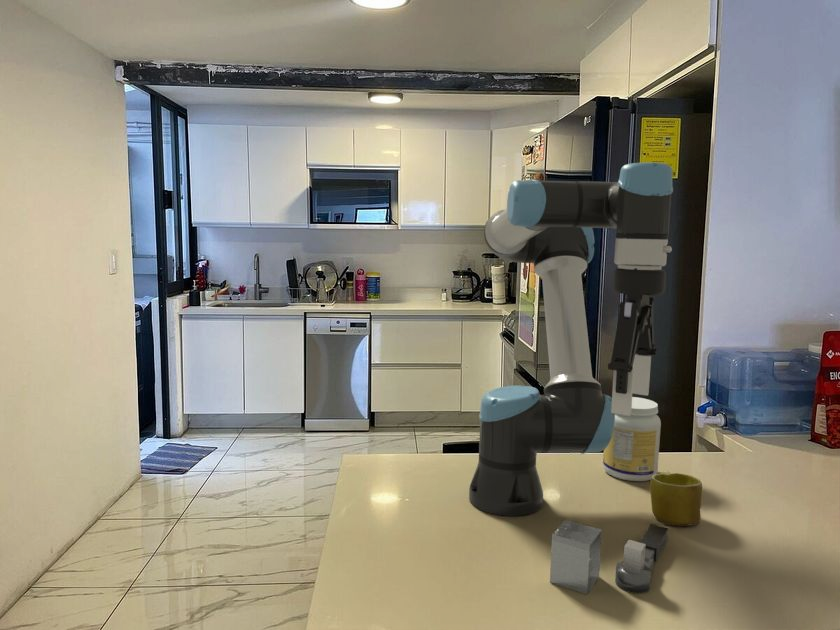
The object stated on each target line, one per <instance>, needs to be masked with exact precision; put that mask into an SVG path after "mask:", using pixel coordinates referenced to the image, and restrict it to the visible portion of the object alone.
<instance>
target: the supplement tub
mask: <svg viewBox="0 0 840 630" xmlns="http://www.w3.org/2000/svg"><path fill="white" fill-rule="evenodd" d="M658 405H659V404H658V403H657V402H655V401H654V400H651V399H647V398H643V397H637V396H632V407H631V415H630V416H628V415H622V414H615V423H614V430H613V434H612V437H611V440H610V443H609V444H608V446H607V447H606V448H605V449H604V450H603V453H602V454H603V458H602V467H603V469H604V471H605V472H606V473H607V474H608V475H611V476H612V477H614V478H617V479H618V480H619V479H620V480H624V481H629V482H647V481H651V477H652V476H653V475H656V474H658V471H659V470H658V469H659V458H660V457H659V455H660V454H659V453H660V444H661V443H660V441H661V439H660V438H661V429H662V428H661V427H662V422H661V421H662V420H661V419H660V417H659V415H658V413H659V406H658Z"/></svg>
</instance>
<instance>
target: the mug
mask: <svg viewBox="0 0 840 630" xmlns="http://www.w3.org/2000/svg"><path fill="white" fill-rule="evenodd" d="M649 481H650V482H649V491H650V499H651V501H650V503H651V510H652V511H651V512H652V514H653V516H654V517H655V519H656V520H658V521H659V522H661V523H663V524H664V525H671V526H676V527H677V526H678V527H679V526H682V527H683V526H685V527H686V526H693V525H696V524H699V523H700V521H701V509H702V508H701V507H702V496H703V484H702V481H701V479H699V478H697V477H695V476H693V475H691V474H686V473H679V472H678V473H677V472H674V473H672V472H670V471H669V470H660V471H659V472H657V474H656V475H653V476H652V477H651V480H649Z"/></svg>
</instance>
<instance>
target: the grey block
mask: <svg viewBox="0 0 840 630" xmlns="http://www.w3.org/2000/svg"><path fill="white" fill-rule="evenodd" d="M602 534H603V529H600V528H597V527H593V526H589V525H586V524H583V523H577V522H575V521H570V520H567V519H565V520H564V521H563V522H562V523H561V524H560V525H559V526H558V528H557V529H555V531H553V533H552V534H551V537H552V538H551V550H550V551H551V553H550V567H549V568H550V575H549V583H552V584H554V585H556V586H557V585H558V586H560V587H563V588H567V589H569V590H573V591H576V592H579V593H581V594H585V595H588V594H589V593H590V591H591V590H592V588H593V587H594V585H595V583H596V582H597V581H598V579H599V578H600V569H601V554H602V553H601V551H602V550H601V549H602V536H603V535H602Z"/></svg>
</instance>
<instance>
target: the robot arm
mask: <svg viewBox="0 0 840 630" xmlns="http://www.w3.org/2000/svg"><path fill="white" fill-rule="evenodd" d="M673 192H674V187H673V169H672V167H671V165H669V164H668V163H662V162H632V163H627V164H624V165H623V166H622V167H621V169H620V172H619V178H618V181H612V182H611V181H576V180H572V181H571V180H542V179H536V178H530V179H521V180H520V179H519V180H515V181H513V182H512V183H511V184H510V185H509V190H508V193H507V198H506V201H507V202H506V208H505V209H501V210H498V211H497V212H495V213H493V214H492V215H491V216H490V217H489V218H488V219H487V220H486V222H485V225H484V227H483V228H484V229H483V240H484V243H485V245H486V247H487V248H488V249H489V251H491V252H492V254H494V255H495V256H496V257H499V258H500V259H503V260H505V261H508V262H512V263H518V264H519V263H520V264H521V263H522V264H533V267H534V273H535V274H536V275H537V276H538V277H540V278H541V280H542V282H541V283H542V293H543V305H544V318H545V329H546V340H547V341H546V342H547V354H548V365H549V366H548V368H549V379H550V380H549V382H547V384H546V385H545V386H544V388H543V394H540V391H539V390H538V388H536V387H533V386H532V385H531V386H529V385H507V386H506V385H505V386H501V387H497V388H494V389H491V390H489V391H487V392H486V393H485V394H484V395H483V396H482V398H481V401H480V408H479V409H480V410H479V415H478V419H479V439H478V440H479V443H478V463H477V466H476V468H475V471H474V474H473V477H472V479H471V482H470V484H469V489H468V500H469V502H470V503H471V504H472V505H473V506H474V507H475V508H477V509H479V510H481V511H482V512H486V513H489V514H493V515H496V516H497V515H499V516H506V517H507V516H508V517H519V516H526V515H527V516H528V515H530V514H533V513H536V512H538V511H539V510H541V508H542V507H543V505H544V491H543V487H542V483H541V480H540V476H539V473H538V470H537V454H539V453H543V454H544V453H545V454H546V453H547V454H549V453H553V454H554V453H555V454H556V453H557V454H559V453H562V454H563V453H564V454H565V453H567V454H569V453H571V454H572V453H573V454H575V453H578V454H579V453H580V455H581V454H582V455H583V454H587V453H601V452H602V451H603V452H604V449H605V448H606V447H607V446H608V444H609V443H610V440H611V437H612V434H613V430H614V423H615V414H622V415H628V416H630V415H631V407H632V397H633V395H641V396H649V390H650V381H651V379H650V378H651V367H652V366H651V363H652V356H657V349H656V348H655V331H654V330H655V329H654V302H655V297H654V296H660V295H663V294H664V293H665V290H666V278H667V272H666V271H665V270H664V269H662V268H663V267H666V266H667V257H668V254H667V253H671V252H672V250H673V249H672V246H670V245H668V244H669V233H670V223H671V222H670V220H671V209H672V198H673V197H672V196H673ZM596 228H597V229H608V230H611V229H613V230H616V231H615V244H614V259H613V263H614V264H615V265H617V268H614V270H613V277H612V278H613V282H612V290H613V292H615V293H617V294H625V295H626V297H625V302H624V301H620V303H619V305H618V319H617V324H616V325H617V326H616V331H615V337H614V341H613V349H612V354H611V358H610V359H611V360H610V363H609V362H608V364H607V368H608V370H611V371H613V377H612V378H613V379H612V393H611V396H610V395H607V394H603V392H602V385H601V383H600V382H599V381H598V380H596V379H595V378H594V377H593V370H592V363H591V361H592V360H591V352H590V346H589V345H590V343H589V336H588V335H589V333H588V325H587V316H586V307H585V306H586V305H585V298H584V296H585V295H584V290H583V289H584V288H583V287H584V286H583V279H582V274H583V273H584V272H585V271H586V270H587V268H588V264H590V263H591V261H592V260H593V258H594V256H595V255H594V254H595V245H594V244H595V235H594V229H596Z"/></svg>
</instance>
